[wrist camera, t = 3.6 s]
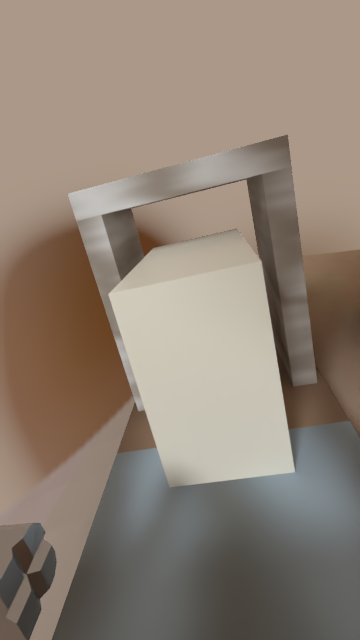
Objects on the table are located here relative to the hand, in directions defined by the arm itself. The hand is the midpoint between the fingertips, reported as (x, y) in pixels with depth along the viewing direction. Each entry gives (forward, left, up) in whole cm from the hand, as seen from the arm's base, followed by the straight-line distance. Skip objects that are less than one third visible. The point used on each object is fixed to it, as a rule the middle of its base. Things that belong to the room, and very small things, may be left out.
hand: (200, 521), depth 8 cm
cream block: (0, -13, -6) cm, 14 cm away
